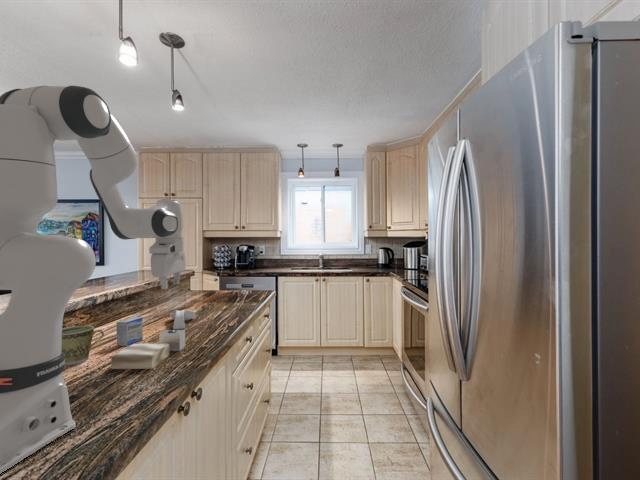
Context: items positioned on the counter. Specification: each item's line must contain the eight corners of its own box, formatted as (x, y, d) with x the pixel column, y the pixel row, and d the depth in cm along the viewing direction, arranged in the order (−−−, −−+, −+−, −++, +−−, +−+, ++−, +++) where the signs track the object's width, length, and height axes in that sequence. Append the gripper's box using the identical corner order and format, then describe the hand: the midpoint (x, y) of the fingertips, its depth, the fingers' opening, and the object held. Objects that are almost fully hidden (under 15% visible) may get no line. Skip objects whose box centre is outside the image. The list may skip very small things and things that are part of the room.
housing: (179, 351, 109) (179, 332, 109) (159, 351, 109) (159, 332, 109) (185, 346, 114) (185, 329, 114) (165, 346, 114) (165, 329, 114)
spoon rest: (170, 318, 156) (170, 303, 156) (196, 316, 160) (196, 302, 160) (164, 331, 134) (164, 314, 134) (194, 328, 138) (194, 312, 138)
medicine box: (126, 346, 114) (126, 322, 114) (116, 345, 115) (116, 321, 115) (143, 339, 122) (143, 317, 122) (133, 339, 123) (132, 316, 123)
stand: (152, 368, 94) (151, 355, 94) (111, 368, 94) (111, 355, 94) (169, 355, 105) (169, 343, 105) (133, 355, 105) (133, 343, 105)
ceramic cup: (46, 369, 94) (46, 335, 94) (64, 357, 103) (63, 326, 103) (97, 364, 97) (97, 332, 97) (109, 353, 107) (109, 323, 107)
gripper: (172, 245, 121) (173, 281, 122) (146, 248, 101) (147, 292, 101) (189, 245, 121) (190, 281, 122) (166, 248, 101) (167, 291, 101)
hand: (170, 286), depth 111 cm, fingers open, 8 cm apart
